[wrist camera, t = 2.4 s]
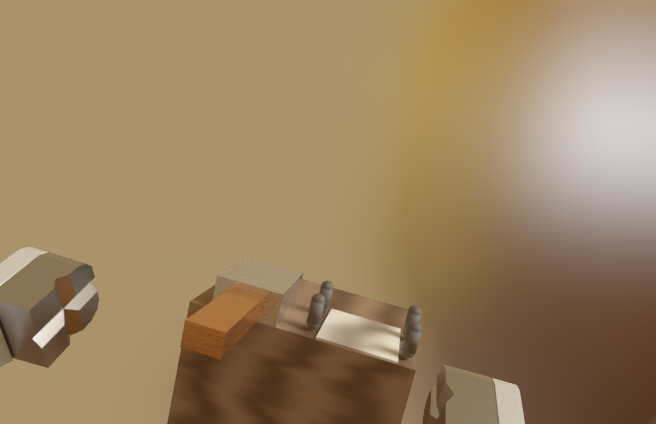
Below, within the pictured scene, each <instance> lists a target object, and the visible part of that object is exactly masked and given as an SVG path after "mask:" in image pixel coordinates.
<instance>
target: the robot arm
mask: <svg viewBox="0 0 656 424" xmlns="http://www.w3.org/2000/svg"><path fill="white" fill-rule="evenodd" d="M94 277H95V276H94V273H93V269H92V266H90V265H87V264H85V263H81V262H78V261H75V260H72V259H68V258H65V257H62V256H59V255H56V254H52V253H49V252H46V251H42V250H39V249H36V248H32V247H26V248H22V249H20V250H18V251H17V252H16V253H14V254H13V255H11V256H10V257H9V258H8V259H6V260H5V261H3V262H2V263H1V264H0V367H1V366H2V365H5V364H6V363H9V362H10V361H12V360H13V358H15V359H19V360H22V361H26V362H29V363H33V364H36V365H40V366H44V367H47V368H48V367H49V366H50V365H51V364H52V363H53V362H54V361H55V360H56V359H57V358H58V357H59V356H60V355H61V354H62V352H63V351H64V350H65V349H66V348H67V347H68V346H69V345H70V335H72V334H75V333H77V332H79V331H81V330H84V328H85V327H86V326H87V325H88V324H89V323H90V322H91V321H92V319H93V317H94V315H95V313H96V311H97V309H98V301H99V297H98V291H97V290H96V289H95V288H94V286H93V285H92V284H91V283H90V282H91V281H92V280H93V278H94ZM423 424H525V421H524V415H523V409H522V402H521V396H520V390H519V388H518V387H517V385H514V384H511V383H507V382H504V381H500V380H497V379H493V378H490V377H487V376H484V375H480V374H476V373H472V372H469V371H465V370H461V369H458V368H454V367H450V366H446V365H443V366H442V367H441V368H440V371H439V373H438V375H437V386H435V387H433V388H431V391H430V393H429V396H428V398H427V402H426V406H425V409H424V416H423Z"/></svg>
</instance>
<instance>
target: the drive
mask: <svg viewBox="0 0 656 424" xmlns="http://www.w3.org/2000/svg"><path fill="white" fill-rule="evenodd" d="M302 277H303V273H300V272H297V271H293V270H290V269H286V268H283V267H279V266H276V265H272V264H269V263H265V262H262V261H258V260H254V259H251V258H245V259H244V260H242V261H240V262H239V263H237V264H235V265H234V266H232V267H230V268H229V269H227V270H225V271H224V272H222V273H220V274H219V275H217V280H216V284H215V289H214V294H213V300H212V301H211V302H210V303H208V304H207V305H206V306H204V307H203V308H201V309H200V310H199V311H197V312H196V313H194V314H193V315H192V316H190V317H189V318H187V319H186V320H185V324H184V330H183V335H182V341H181V346H180V347H182V348H185V349H188V350H191V351H195V352H198V353H201V354H204V355H207V356H210V357H213V358H216V359H219V360H221V359H222V358H223V357H224V356H225V355H226V354H227V353H228V351H229V350H230V349H231V348H232V347H233V346H234V345H235V344H236V343H237V342H238V341H239V340H240V339H241V338H242V337H243V336H244V335H245V334H246V333H247V332H248V331H249V329H250V328H251V327H252V326H253V325H254V324H255V323H256V322H259V323H262V324H266V325H269V326H272V327H275V328H276V327H277V326H278V324H279V323H280V322H281V321H282V319H283V318H284V317H285V316H286V314H287V313H288V312H289V311H290V310H291V308H292V307H293V306H294V305H295V303H296V302H297V299H298V295H299V291H300V286H301V282H302Z"/></svg>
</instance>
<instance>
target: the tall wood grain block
mask: <svg viewBox="0 0 656 424" xmlns="http://www.w3.org/2000/svg"><path fill="white" fill-rule="evenodd" d="M214 289H215V286H213V287H212V288H210V289H208V290H207V291H206V292H204V293H202V294H201V295H199V296H198V297H196V298H195V299H193V300H191V301H190V305H189V309H188V315H187V318H189V317H190V316H192V315H193V314H194V313H196V312H197V311H199V310H200V309H201V308H203V307H204V306H206V305H207V304H208V303H210V302H211V301H212V300H213V294H214ZM420 317H421V310H420V308H419V307H418V306H411V307H410V308H409V310H407V309H404V308H401V307H397V306H394V305H390V304H387V303H383V302H380V301H376V300H372V299H369V298H366V297H362V296H359V295H355V294H352V293H348V292H345V291H341V290H338V289H334V288H333V284H332V283H331V282H330V281H324V282H323V283H322V285H320V284H317V283H313V282H310V281H306V280H303V279H302V282H301V286H300V291H299V295H298V299H297V302H296V303H295V305H294V306H293V307H292V308H291V310H290V311H289V312H288V313H287V314H286V316H285V317H284V318H283V319H282V321H281V322H280V323H279V324H278V326H277V327H276V328H275V327H272V326H269V325H266V324H262V323H259V322H256V323H255V324H254V325H253V326H252V327H251V328H250V329H249V331H248V332H247V333H246V334H245V335H244V336H243V337H242V338H241V339H240V340H239V341H238V342H237V343H236V344H235V345H234V346H233V347H232V348H231V349H230V350H229V351H228V353H227V354H226V355H225V356H224V357H223V358H222V359H221V360H219V359H216V358H213V357H210V356H207V355H204V354H201V353H198V352H195V351H191V350H188V349H185V348H182V347H181V353H180V358H179V363H178V369H177V374H176V380H175V385H174V391H173V396H172V402H171V407H170V412H169V417H168V423H167V424H401V421H402V417H403V414H404V410H405V407H406V403H407V400H408V396H409V392H410V389H411V385H412V382H413V378H414V375H415V371H416V350H417V346H418V342H419V339H420V336H421V332H422V326H421V324H420V323H419V320H420Z"/></svg>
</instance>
